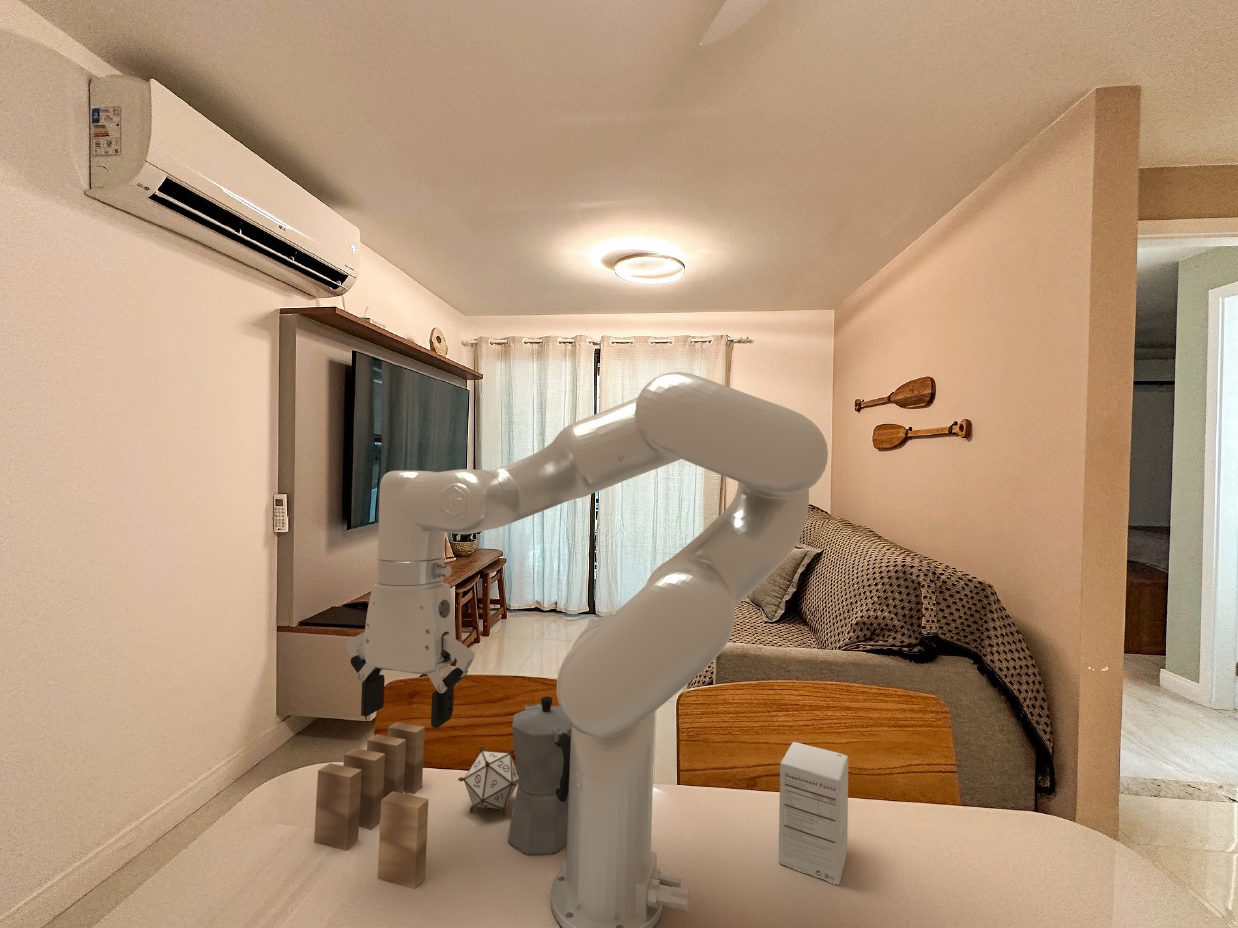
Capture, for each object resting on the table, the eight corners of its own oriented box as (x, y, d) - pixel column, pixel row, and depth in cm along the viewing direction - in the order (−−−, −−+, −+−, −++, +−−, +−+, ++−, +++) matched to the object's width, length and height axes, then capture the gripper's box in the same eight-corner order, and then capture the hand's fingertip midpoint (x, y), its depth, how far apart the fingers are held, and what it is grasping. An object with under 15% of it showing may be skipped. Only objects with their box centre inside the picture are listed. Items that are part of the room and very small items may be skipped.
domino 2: (381, 820, 76) (385, 753, 76) (371, 829, 74) (375, 760, 74) (351, 813, 77) (354, 747, 77) (340, 822, 75) (344, 754, 75)
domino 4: (403, 802, 80) (405, 739, 80) (393, 810, 78) (396, 745, 78) (373, 796, 81) (376, 734, 82) (364, 803, 79) (367, 740, 80)
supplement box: (790, 833, 76) (792, 739, 76) (848, 853, 72) (850, 754, 72) (776, 864, 69) (778, 761, 70) (839, 888, 65) (841, 779, 66)
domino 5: (424, 876, 65) (428, 798, 65) (414, 888, 63) (418, 807, 64) (388, 867, 66) (392, 791, 67) (377, 878, 64) (381, 800, 65)
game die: (501, 828, 81) (543, 765, 84) (483, 841, 73) (531, 771, 76) (456, 786, 83) (499, 726, 86) (435, 794, 76) (482, 729, 78)
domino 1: (358, 840, 71) (361, 769, 72) (346, 850, 69) (350, 777, 70) (326, 832, 72) (330, 762, 73) (314, 842, 71) (317, 770, 71)
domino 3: (421, 786, 84) (424, 726, 85) (413, 793, 82) (416, 732, 83) (393, 781, 86) (396, 721, 86) (385, 787, 84) (388, 727, 84)
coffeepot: (492, 816, 77) (498, 685, 78) (555, 799, 82) (560, 676, 83) (530, 888, 64) (536, 729, 65) (603, 863, 68) (608, 715, 69)
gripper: (490, 572, 68) (487, 714, 67) (373, 565, 73) (368, 697, 72) (455, 582, 61) (451, 741, 60) (328, 573, 65) (322, 720, 65)
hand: (406, 717), depth 66 cm, fingers open, 9 cm apart
